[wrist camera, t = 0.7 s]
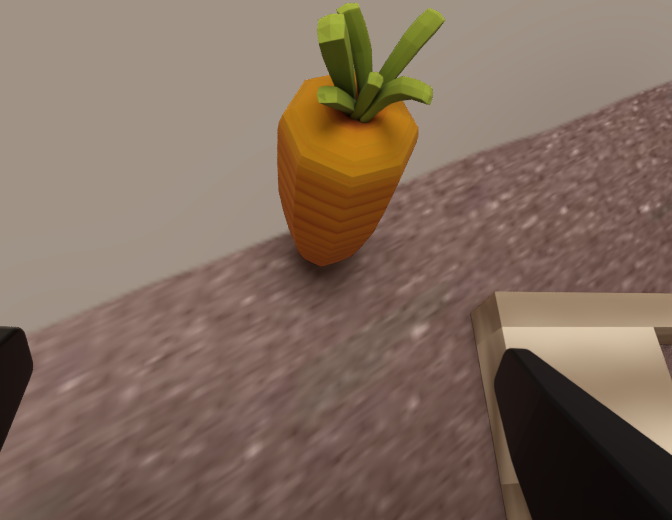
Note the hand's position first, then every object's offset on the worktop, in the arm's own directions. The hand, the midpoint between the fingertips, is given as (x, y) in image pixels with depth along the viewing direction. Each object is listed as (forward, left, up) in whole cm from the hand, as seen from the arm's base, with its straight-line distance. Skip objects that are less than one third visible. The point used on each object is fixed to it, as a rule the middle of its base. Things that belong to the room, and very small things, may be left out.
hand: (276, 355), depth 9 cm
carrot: (+9, -3, -14) cm, 17 cm away
